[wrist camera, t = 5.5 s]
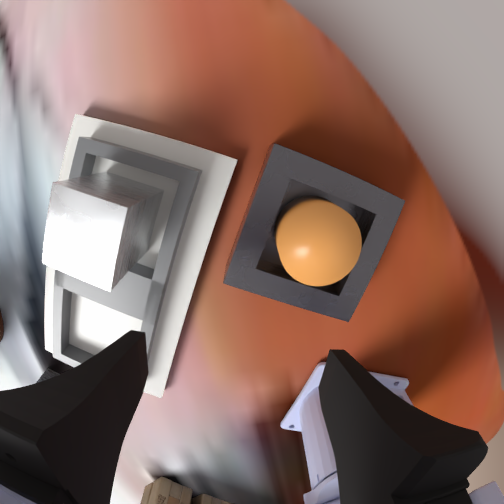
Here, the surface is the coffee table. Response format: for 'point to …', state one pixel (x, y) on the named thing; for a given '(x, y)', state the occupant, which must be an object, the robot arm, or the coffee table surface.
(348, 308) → the button housing
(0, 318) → the food container
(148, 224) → the seated billet
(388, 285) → the coffee table surface
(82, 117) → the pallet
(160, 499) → the block tower
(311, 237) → the button
